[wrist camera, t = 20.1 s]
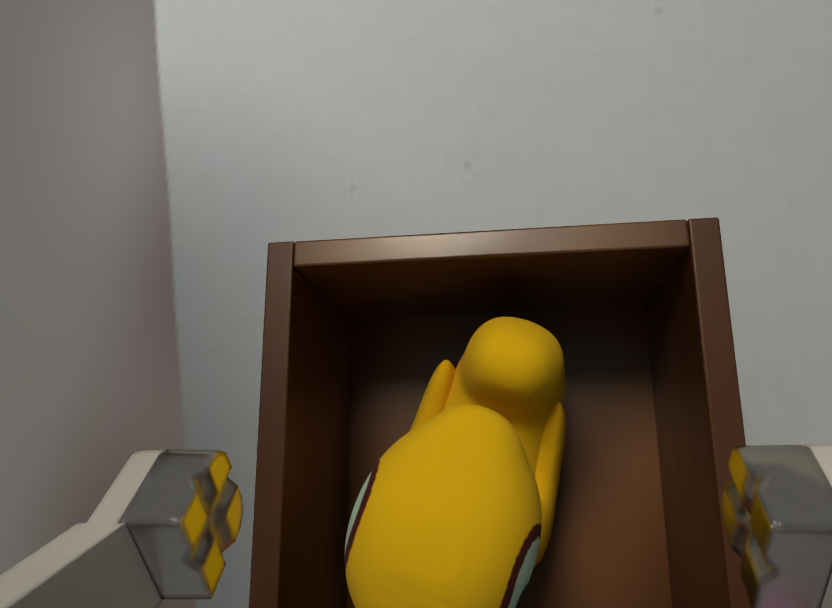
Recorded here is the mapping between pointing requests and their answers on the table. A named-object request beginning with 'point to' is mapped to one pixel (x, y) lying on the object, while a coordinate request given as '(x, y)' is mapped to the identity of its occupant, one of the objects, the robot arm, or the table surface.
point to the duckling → (466, 480)
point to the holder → (583, 404)
